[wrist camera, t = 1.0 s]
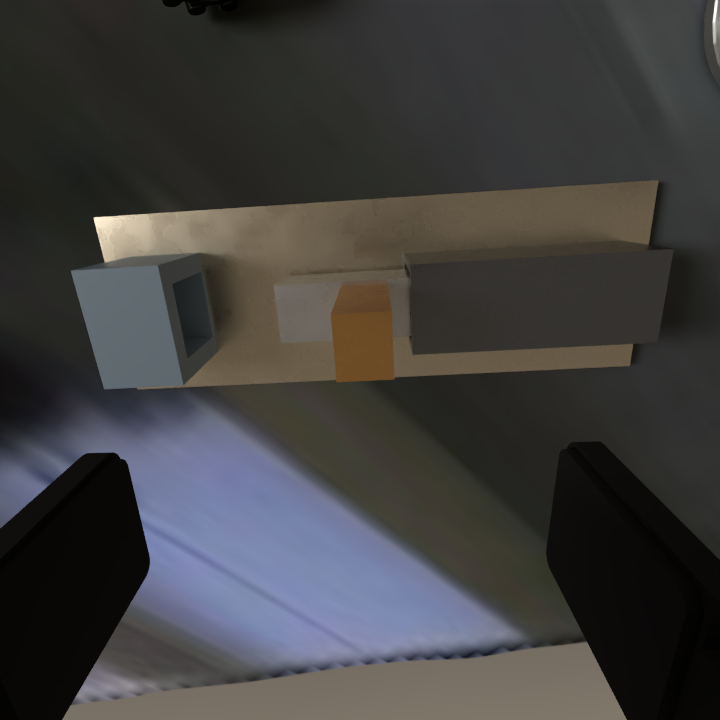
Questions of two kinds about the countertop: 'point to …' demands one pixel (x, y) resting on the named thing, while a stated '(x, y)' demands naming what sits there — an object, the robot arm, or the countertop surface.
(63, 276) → the countertop surface
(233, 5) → the valve
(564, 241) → the stand
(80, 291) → the socket block
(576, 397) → the countertop surface
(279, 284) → the sliding bar with handle
